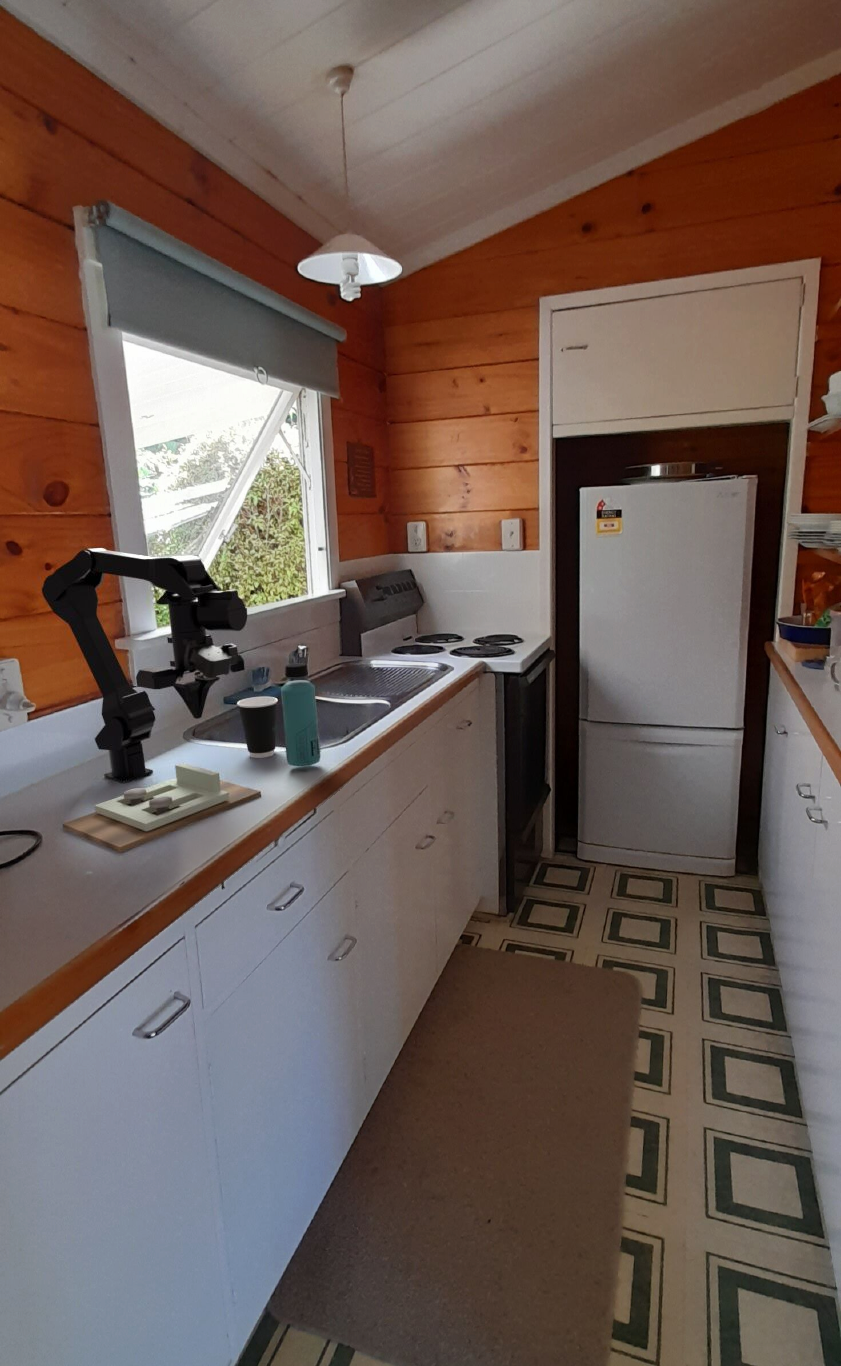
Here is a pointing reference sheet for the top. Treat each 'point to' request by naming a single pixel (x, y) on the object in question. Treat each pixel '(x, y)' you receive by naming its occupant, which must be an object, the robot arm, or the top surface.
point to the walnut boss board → (129, 836)
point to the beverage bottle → (300, 718)
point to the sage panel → (186, 791)
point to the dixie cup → (259, 725)
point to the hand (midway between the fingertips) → (197, 718)
